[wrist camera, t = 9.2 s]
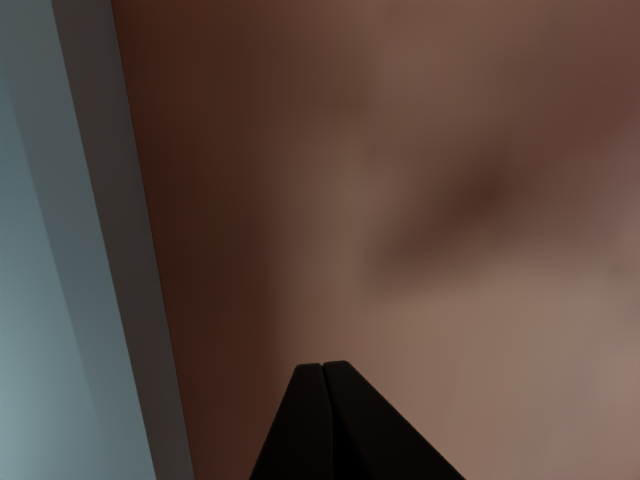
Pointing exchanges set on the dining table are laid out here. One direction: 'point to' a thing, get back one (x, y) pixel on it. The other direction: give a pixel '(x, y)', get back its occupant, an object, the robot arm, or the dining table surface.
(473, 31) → the dining table surface
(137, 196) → the tray
